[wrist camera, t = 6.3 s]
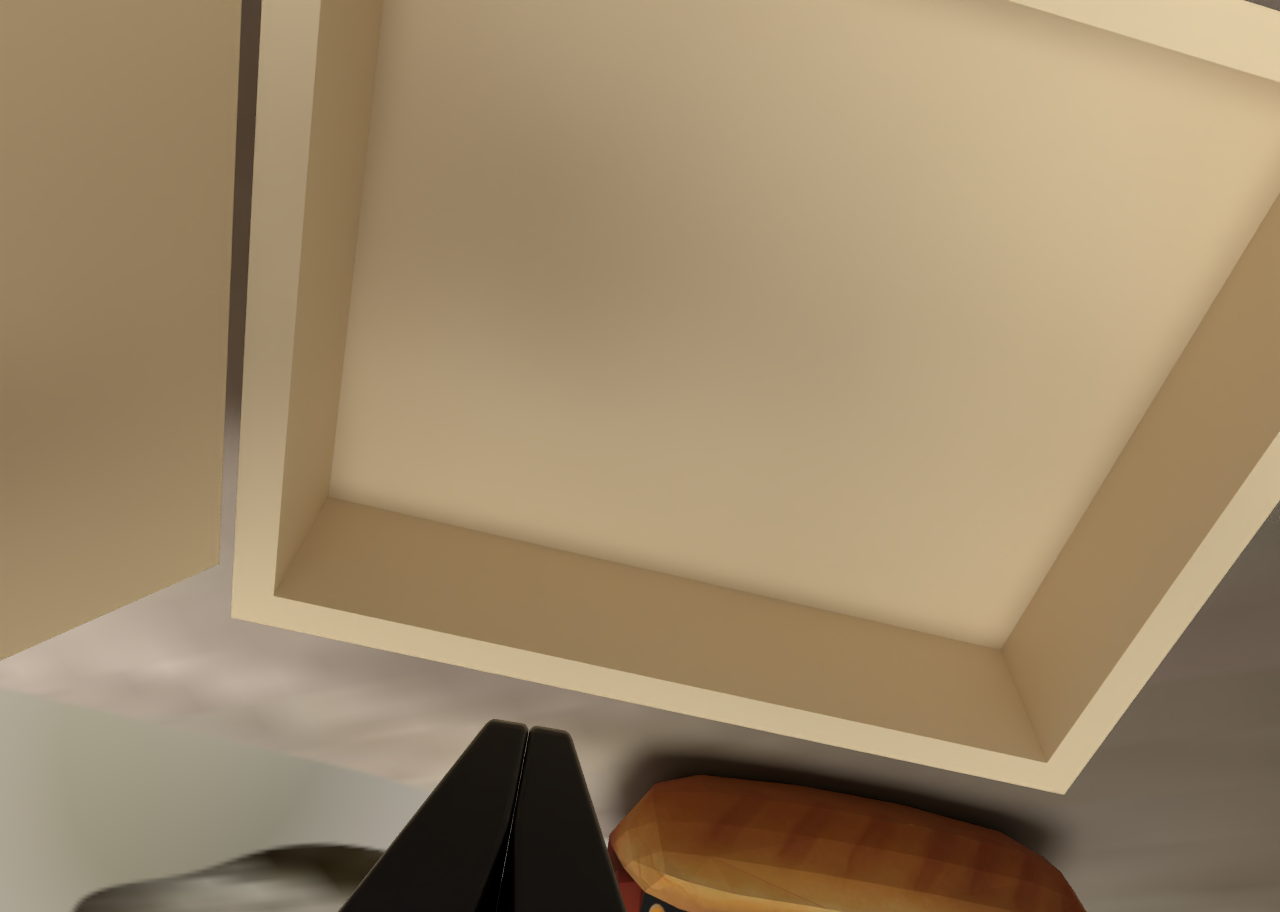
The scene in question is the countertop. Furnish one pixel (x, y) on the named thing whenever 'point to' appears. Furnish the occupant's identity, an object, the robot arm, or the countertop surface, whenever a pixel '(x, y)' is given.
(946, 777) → the countertop surface
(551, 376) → the cream shallow tray
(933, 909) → the hot dog
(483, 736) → the robot arm
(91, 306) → the flap
